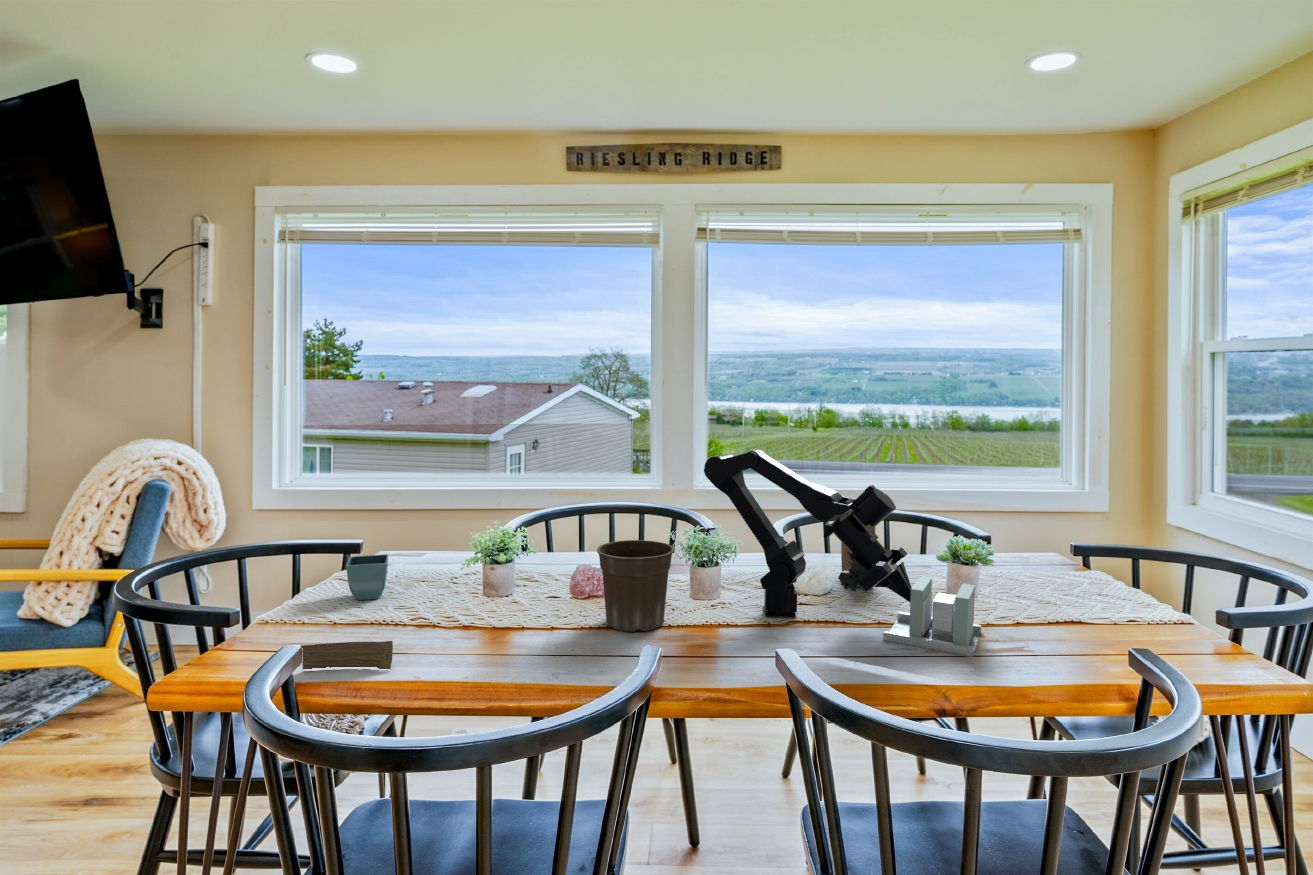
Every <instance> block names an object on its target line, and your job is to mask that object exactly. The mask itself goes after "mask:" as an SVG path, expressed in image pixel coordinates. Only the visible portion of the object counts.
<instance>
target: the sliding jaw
mask: <svg viewBox="0 0 1313 875" xmlns="http://www.w3.org/2000/svg"><path fill="white" fill-rule="evenodd" d="M932 581H933V578H932V577H928V576H920V577H919V578H918V579H917V580H916V582H915V583H914V584H913V585H912V586H911V587H912V588H911V599H910V602H909V603H910V604H909V613H910V627H909V635H911V636H917V637H924V635H925V634H926V632H927V630H928V628H929V627H930V622H931V620H932V616H933V594H934V593H933V592H934V591H932V590H933V589H932V588H933V586H932V585H933V582H932Z"/></svg>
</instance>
